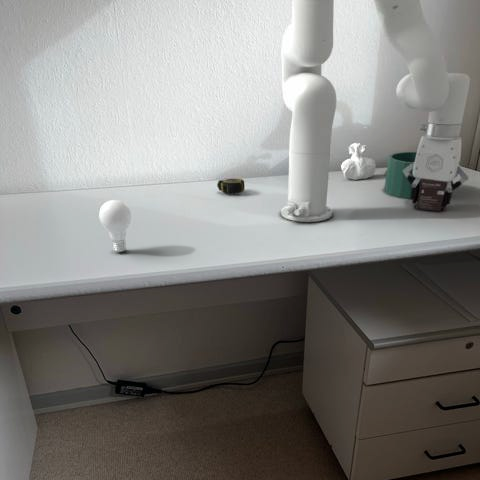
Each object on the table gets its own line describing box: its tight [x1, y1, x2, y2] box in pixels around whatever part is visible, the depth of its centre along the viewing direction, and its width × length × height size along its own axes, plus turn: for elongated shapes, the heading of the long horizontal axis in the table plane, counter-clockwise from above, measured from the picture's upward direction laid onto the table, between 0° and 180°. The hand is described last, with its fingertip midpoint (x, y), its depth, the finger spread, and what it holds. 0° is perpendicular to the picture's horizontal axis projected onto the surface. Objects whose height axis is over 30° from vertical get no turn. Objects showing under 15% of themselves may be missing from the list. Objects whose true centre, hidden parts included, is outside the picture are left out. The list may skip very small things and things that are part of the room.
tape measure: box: [216, 178, 245, 196], centre depth 142 cm, size 7×7×4 cm
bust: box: [340, 142, 377, 181], centre depth 154 cm, size 12×8×11 cm
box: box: [416, 179, 447, 212], centre depth 126 cm, size 6×6×7 cm
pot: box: [384, 151, 421, 200], centre depth 139 cm, size 16×16×10 cm
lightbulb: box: [98, 199, 132, 254], centre depth 102 cm, size 6×6×11 cm
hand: (429, 203), depth 127 cm, fingers closed on box, 6 cm apart
